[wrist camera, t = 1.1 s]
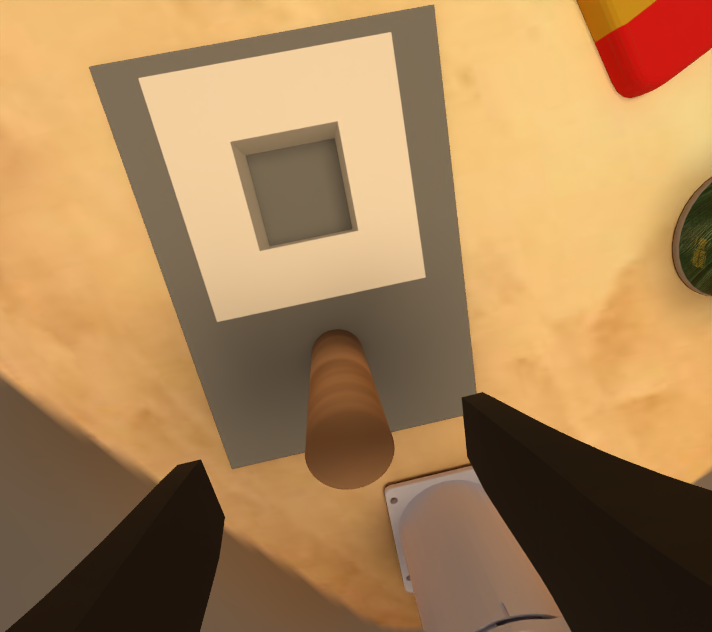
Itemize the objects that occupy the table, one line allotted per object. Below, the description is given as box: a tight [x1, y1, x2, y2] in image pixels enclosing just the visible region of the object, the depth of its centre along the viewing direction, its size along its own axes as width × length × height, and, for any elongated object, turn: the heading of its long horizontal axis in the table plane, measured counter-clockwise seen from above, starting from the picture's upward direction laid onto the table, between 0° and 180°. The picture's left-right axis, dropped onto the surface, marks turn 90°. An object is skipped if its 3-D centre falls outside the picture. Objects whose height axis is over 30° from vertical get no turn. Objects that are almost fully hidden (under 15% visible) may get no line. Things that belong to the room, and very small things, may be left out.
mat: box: [89, 5, 477, 469], centre depth 19 cm, size 22×16×1 cm
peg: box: [305, 329, 394, 489], centre depth 16 cm, size 3×3×9 cm
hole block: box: [138, 32, 426, 322], centre depth 16 cm, size 10×10×3 cm
